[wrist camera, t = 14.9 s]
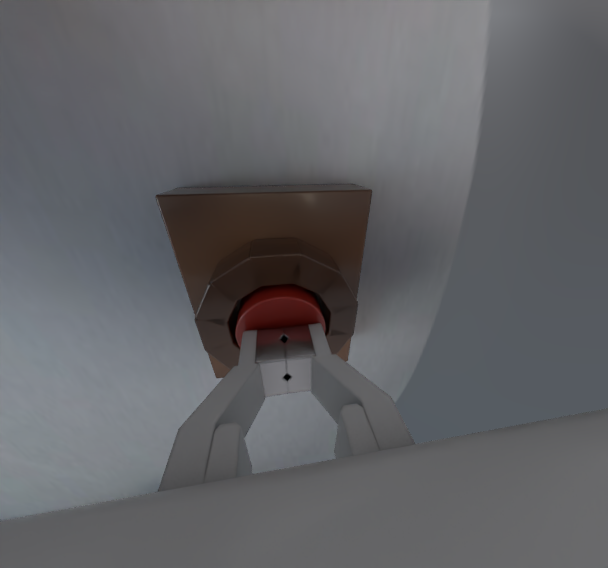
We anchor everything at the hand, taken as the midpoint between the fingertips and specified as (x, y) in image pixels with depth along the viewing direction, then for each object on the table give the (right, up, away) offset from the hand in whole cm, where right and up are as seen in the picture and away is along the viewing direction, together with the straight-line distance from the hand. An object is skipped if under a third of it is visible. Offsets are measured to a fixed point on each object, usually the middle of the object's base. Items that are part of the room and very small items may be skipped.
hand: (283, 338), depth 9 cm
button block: (-1, +2, +4) cm, 5 cm away
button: (0, +1, +1) cm, 2 cm away
